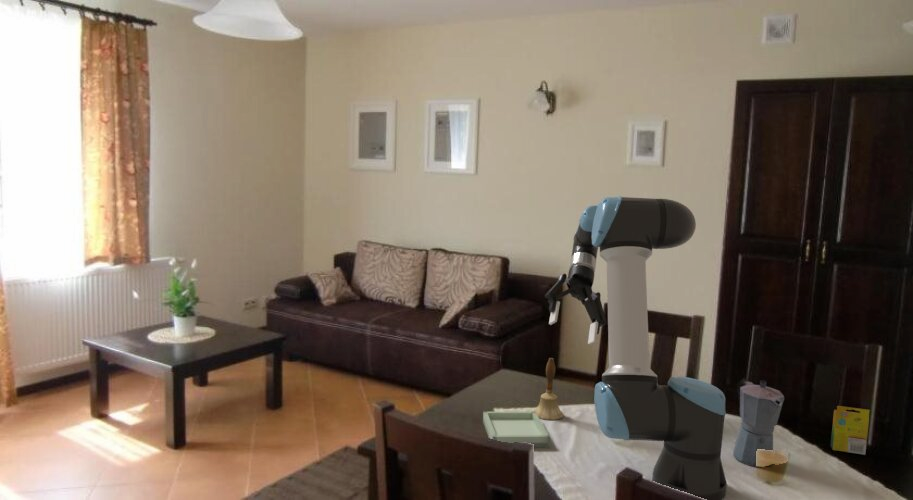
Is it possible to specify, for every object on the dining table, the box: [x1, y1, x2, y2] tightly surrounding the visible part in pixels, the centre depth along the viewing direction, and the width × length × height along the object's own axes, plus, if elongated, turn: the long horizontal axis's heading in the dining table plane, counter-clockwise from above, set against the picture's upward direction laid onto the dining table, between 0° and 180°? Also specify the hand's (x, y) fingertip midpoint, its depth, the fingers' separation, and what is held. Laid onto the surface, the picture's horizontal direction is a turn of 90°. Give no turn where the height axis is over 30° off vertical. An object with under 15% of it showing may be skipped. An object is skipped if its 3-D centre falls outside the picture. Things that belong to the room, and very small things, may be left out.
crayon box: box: [830, 405, 871, 456], centre depth 161 cm, size 7×3×12 cm, turn 70°
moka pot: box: [732, 377, 785, 468], centre depth 154 cm, size 10×15×20 cm, turn 15°
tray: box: [482, 411, 550, 449], centre depth 164 cm, size 16×14×3 cm
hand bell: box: [533, 357, 564, 421], centre depth 177 cm, size 8×8×16 cm
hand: (572, 333), depth 179 cm, fingers open, 13 cm apart
